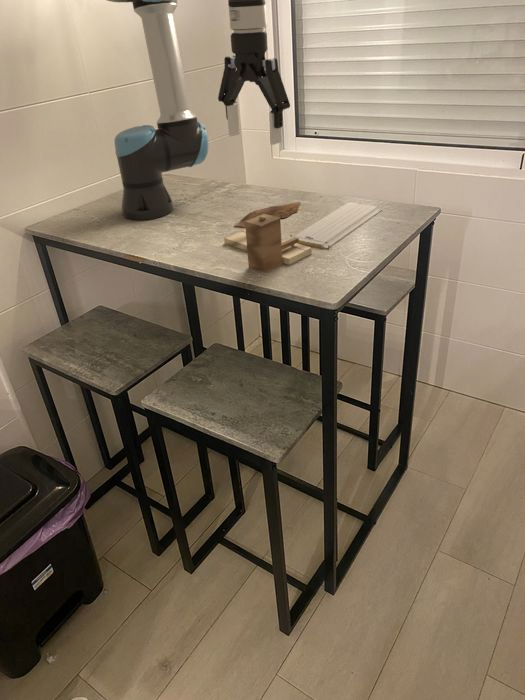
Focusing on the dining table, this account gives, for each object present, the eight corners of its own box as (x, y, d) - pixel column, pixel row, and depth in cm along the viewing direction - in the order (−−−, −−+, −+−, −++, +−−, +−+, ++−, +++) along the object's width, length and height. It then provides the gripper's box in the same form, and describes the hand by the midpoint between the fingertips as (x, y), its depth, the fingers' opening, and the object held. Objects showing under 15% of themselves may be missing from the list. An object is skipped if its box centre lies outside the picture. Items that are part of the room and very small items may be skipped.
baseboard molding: (387, 213, 148) (348, 207, 154) (387, 202, 147) (348, 197, 153) (332, 252, 128) (290, 244, 134) (332, 241, 126) (290, 233, 132)
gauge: (248, 267, 122) (244, 218, 116) (289, 248, 130) (287, 201, 124) (264, 273, 119) (261, 223, 113) (304, 252, 127) (303, 205, 121)
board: (224, 243, 135) (224, 237, 134) (247, 233, 140) (246, 228, 139) (289, 264, 122) (288, 258, 121) (311, 253, 127) (311, 247, 126)
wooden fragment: (248, 233, 141) (247, 229, 141) (223, 223, 148) (222, 220, 148) (316, 208, 155) (316, 204, 154) (290, 201, 162) (290, 197, 161)
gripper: (196, 31, 115) (206, 135, 127) (279, 33, 100) (282, 150, 112) (222, 28, 119) (230, 129, 131) (306, 29, 104) (306, 143, 116)
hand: (254, 139), depth 121 cm, fingers open, 13 cm apart
